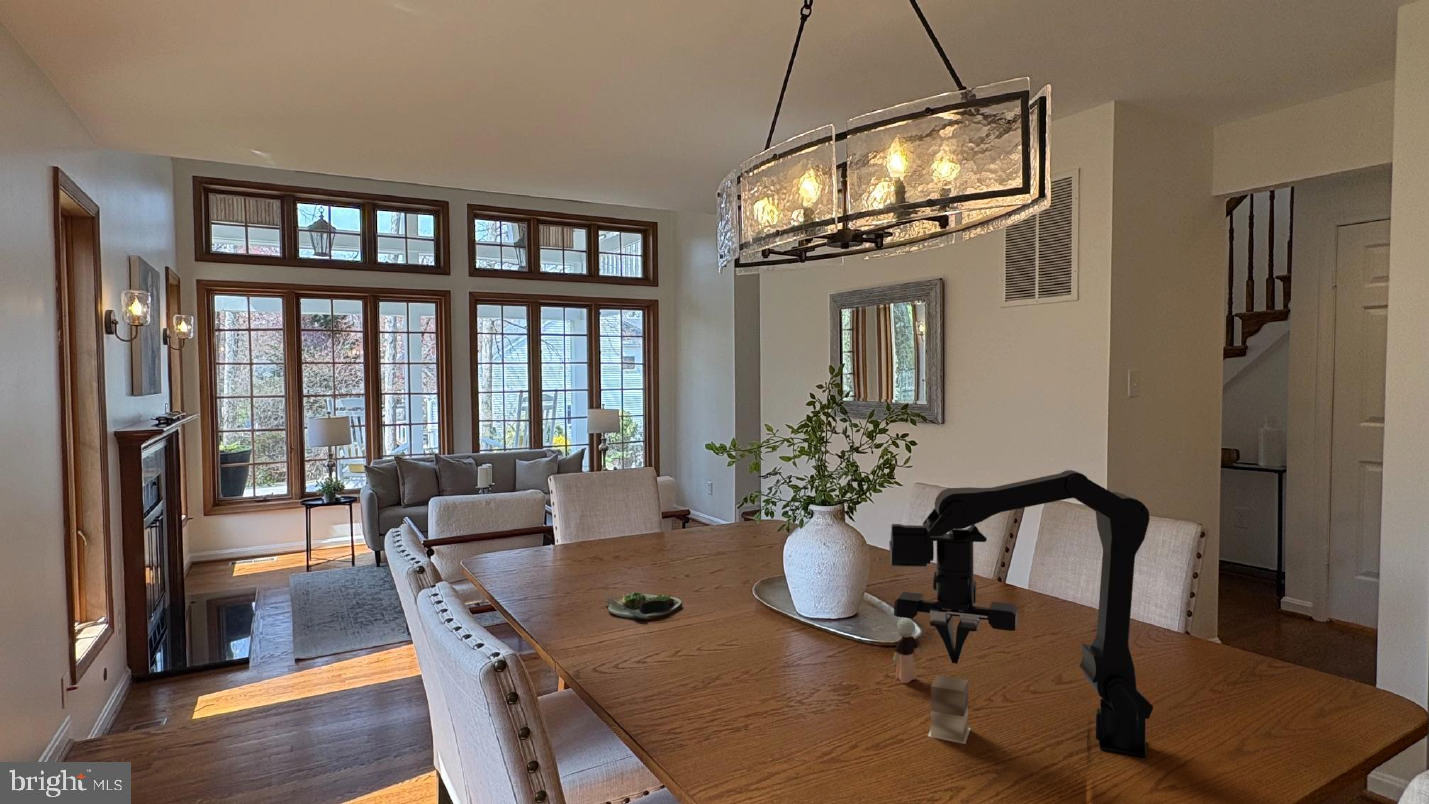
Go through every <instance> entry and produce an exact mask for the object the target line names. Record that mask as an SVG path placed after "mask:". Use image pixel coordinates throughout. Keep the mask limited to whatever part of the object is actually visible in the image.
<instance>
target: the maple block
mask: <svg viewBox="0 0 1429 804" xmlns="http://www.w3.org/2000/svg"><path fill="white" fill-rule="evenodd" d="M968 707H969V705H968V706H967V709H966V712H965V714H964V717H962V716H957V715H951V714H946V713H941V712H935V711H931V710H930V730H931V736H936V737H941V738H946V739H951V740H956V741H961V742H963V741H964V738H965V735H966V732H967V729H968V728H969V727H968V726H969V723H968V722H969V719H968V718H969V716H968V714H969V713H968V712H969V708H968Z"/></svg>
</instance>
